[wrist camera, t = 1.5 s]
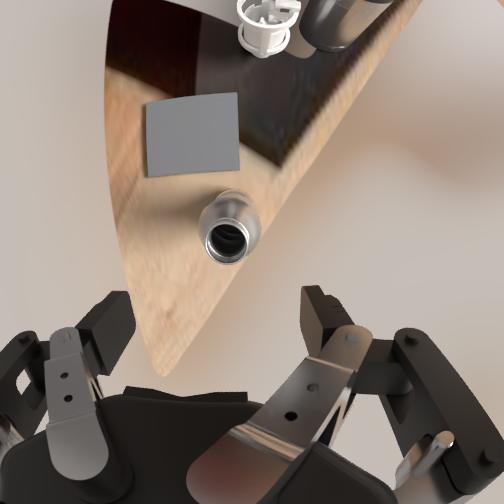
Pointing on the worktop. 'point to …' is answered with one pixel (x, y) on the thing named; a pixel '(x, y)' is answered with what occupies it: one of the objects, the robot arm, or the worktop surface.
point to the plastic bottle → (230, 227)
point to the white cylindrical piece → (266, 26)
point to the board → (192, 134)
